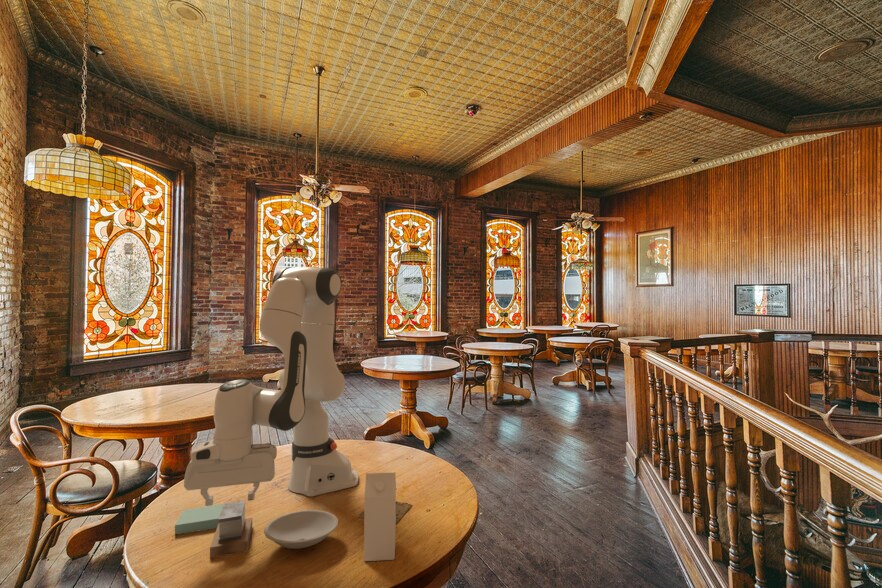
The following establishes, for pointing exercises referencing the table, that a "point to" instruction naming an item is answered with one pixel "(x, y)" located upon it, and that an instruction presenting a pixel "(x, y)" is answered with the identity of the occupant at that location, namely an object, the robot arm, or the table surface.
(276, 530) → the dish
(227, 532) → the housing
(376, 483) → the milk carton
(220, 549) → the stand
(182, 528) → the stand
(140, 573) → the table surface
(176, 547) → the table surface
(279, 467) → the table surface
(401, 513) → the speckled grey square slab
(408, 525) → the table surface
